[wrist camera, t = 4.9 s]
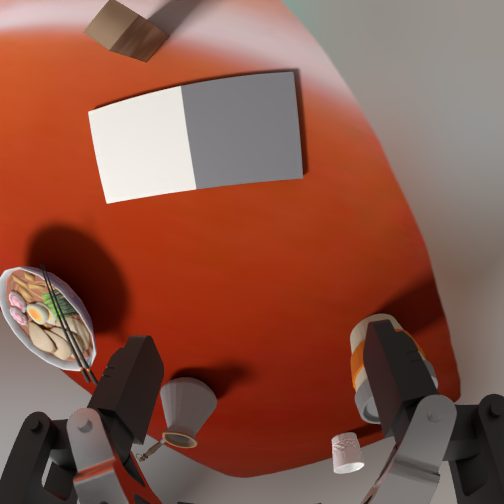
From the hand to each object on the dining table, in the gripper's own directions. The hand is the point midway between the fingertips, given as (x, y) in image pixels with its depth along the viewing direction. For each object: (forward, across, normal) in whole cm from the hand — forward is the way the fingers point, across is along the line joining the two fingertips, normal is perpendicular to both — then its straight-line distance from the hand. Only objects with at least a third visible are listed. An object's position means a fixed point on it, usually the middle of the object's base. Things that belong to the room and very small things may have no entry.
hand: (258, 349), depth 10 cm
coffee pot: (+29, +22, +43) cm, 56 cm away
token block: (+28, +12, -20) cm, 37 cm away
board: (+28, +8, -6) cm, 30 cm away
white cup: (+29, -16, +68) cm, 76 cm away
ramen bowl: (+29, +39, +17) cm, 51 cm away
